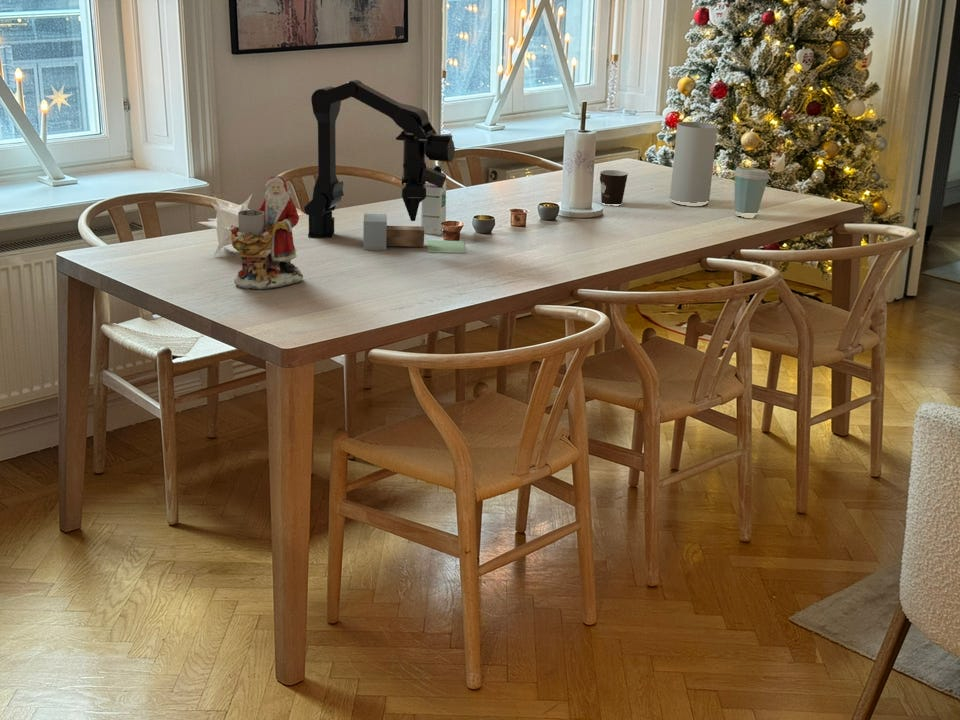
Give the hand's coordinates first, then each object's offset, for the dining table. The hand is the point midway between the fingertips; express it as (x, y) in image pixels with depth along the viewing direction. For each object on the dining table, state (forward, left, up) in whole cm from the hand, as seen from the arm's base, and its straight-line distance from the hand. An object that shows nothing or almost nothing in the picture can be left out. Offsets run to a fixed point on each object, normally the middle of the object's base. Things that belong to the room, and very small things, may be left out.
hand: (412, 216), depth 313 cm
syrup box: (+6, +16, -8) cm, 19 cm away
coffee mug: (+64, +58, -8) cm, 87 cm away
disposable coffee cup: (+104, +44, -8) cm, 113 cm away
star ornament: (-46, -9, -8) cm, 48 cm away
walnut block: (-5, 0, -8) cm, 9 cm away
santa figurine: (-35, -35, -8) cm, 50 cm away
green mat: (+9, 0, -8) cm, 12 cm away
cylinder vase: (+90, +61, -8) cm, 109 cm away
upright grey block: (-10, 0, -8) cm, 13 cm away
